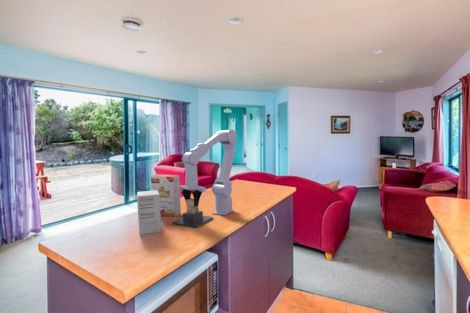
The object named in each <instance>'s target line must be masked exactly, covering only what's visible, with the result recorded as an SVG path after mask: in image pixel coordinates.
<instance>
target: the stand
mask: <svg viewBox="0 0 470 313" xmlns="http://www.w3.org/2000/svg"><path fill="white" fill-rule="evenodd" d="M212 220H214V216H207V215H204V214H203V211H202V210H199V212H198V213H196V214H190V213H187V211H185V212H183V213H182V217H180V218H178V219H176V220H173V221H171V224H172V225H175V226H182V227H187V228H193V229H198V228H200V227H202V226H203V225H205V224H207V223H208V222H210V221H212Z"/></svg>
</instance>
